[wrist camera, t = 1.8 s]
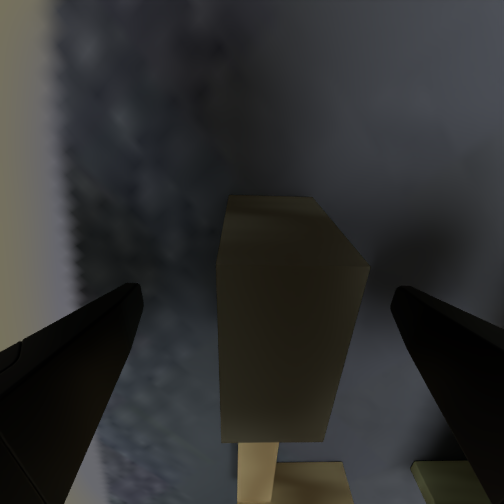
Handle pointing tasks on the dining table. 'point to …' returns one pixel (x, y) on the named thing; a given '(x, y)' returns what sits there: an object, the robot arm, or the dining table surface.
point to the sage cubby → (448, 482)
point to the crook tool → (283, 341)
